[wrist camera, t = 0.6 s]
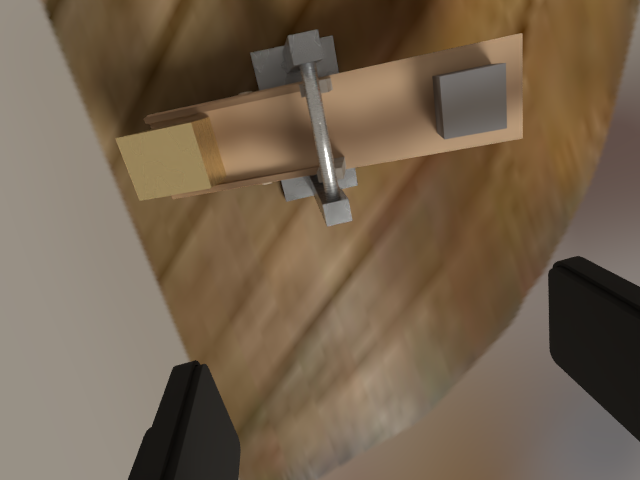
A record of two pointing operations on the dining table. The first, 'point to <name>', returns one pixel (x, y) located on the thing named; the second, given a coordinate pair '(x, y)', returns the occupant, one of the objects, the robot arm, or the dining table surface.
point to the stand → (308, 65)
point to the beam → (367, 115)
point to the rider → (173, 159)
